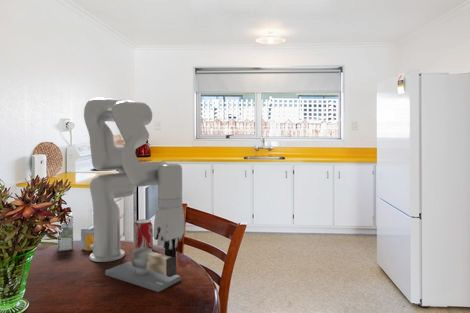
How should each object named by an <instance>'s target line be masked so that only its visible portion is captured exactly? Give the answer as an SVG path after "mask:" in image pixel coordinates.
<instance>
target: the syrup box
mask: <svg viewBox="0 0 470 313" xmlns="http://www.w3.org/2000/svg"><path fill="white" fill-rule="evenodd" d="M69 213H70V214H69V216H71V217H72V218H69V217H67V219H70V222H68V221H67V223H68V226H67V225H66V224H62V225H61V226H62V229H63V231H62V232H61V236H58V235H57V252H64V251H73V250H74V220H73V219H74V217H73V215H74V214H73V212H69ZM58 238H60V239H61V240H58Z"/></svg>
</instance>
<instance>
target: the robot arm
mask: <svg viewBox="0 0 470 313" xmlns="http://www.w3.org/2000/svg"><path fill="white" fill-rule="evenodd" d="M83 119H84V124H85V126H86V129H87V133H88V135H89V136H88V138H89V146H90V147H89V148H90V156H91V164H92V167H93V168H94V169H95V170H96V171H99V172H100V171H102V172H105V171H118V172H117V173H104V174H99V175H97V176H95V177H93V178H92V179H91V181H90V182H89V190H90V196H91V201H92V212H93V214H92V216H93V224H94V243H93V245H90V248H91V249H93V250H92V253H90V255H89V260H90V261H91V262H96V263H97V262H98V263H106V262H113V261H117V260H120V259H122V258H124V256H125V250H124V249H121V212H120V211H121V210H120V208H119V205H118V204H117V203H116V201H115V199H119V198H126V197H131V196H133V195H134V194H135V192H136V191H137V187H140V188H142V187H148V186H149V187H150V186H157V208H156V210H155V214H154V221H153V222H154V223H153V240H155V241H156V240H157V242H156V243H157V244H156V246H160V247H163V249H164V255H166V256H170V257H175V258H176V259H177V247H178V243H179V241H180V240H181V239H182V238H183V236H184V234H185V230H186V229H185V226H186V225H185V212H184V206H183V167H182V165H181V164H179V163H168V162H166V161H147V162H146V161H144V162H140V161H139V158H138V157H137V155H136V154H137V153H136V151H135V150H136V149H138V148H139V147H142V146H143V145H144V144H146V143H147V141H149V138H150V133H149V131H148V130H147V127H146V126H148V125H149V124H151V122H152V121H153V111H152V108H150V106H149V105H148V104H147V103H145V102H140V101H139V102H138V101H133V100H126V99H117V98H106V97H95V98H92V99H89V100H88V101H87V102H86V103H85V106H84V108H83ZM106 122H114V123H115V125H116V127H117V129H118V131H119V133H120V136H121V137H122V139H123V141H124V145H116V144H115V141H114V133H113V131H112V130H111V128H110V126H109V125H108V124H107V123H106Z"/></svg>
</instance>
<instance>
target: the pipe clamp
mask: <svg viewBox="0 0 470 313" xmlns="http://www.w3.org/2000/svg"><path fill="white" fill-rule="evenodd" d="M93 243H94V237H92V235H91V234H86V250H85V251H93V249H91V248H89V247H88V245H93Z"/></svg>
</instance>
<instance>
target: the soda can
mask: <svg viewBox="0 0 470 313" xmlns="http://www.w3.org/2000/svg"><path fill="white" fill-rule="evenodd" d="M153 246H154V225H153V222H152V220H151V219H148V218H147V219H146V218H144V219H139V220H136V223H135V225H134V249H136V248H143V247H146V248H151V249H152V250H153Z"/></svg>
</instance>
